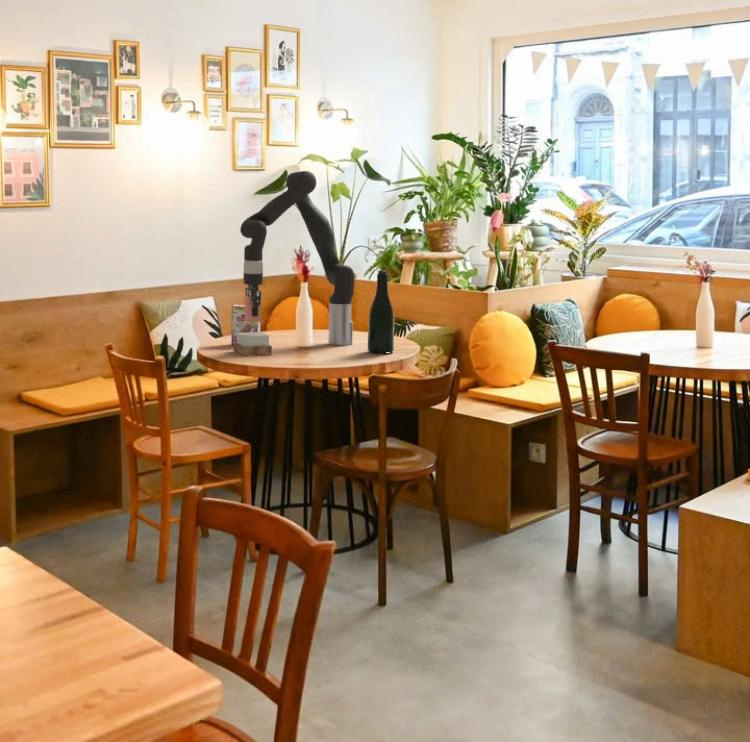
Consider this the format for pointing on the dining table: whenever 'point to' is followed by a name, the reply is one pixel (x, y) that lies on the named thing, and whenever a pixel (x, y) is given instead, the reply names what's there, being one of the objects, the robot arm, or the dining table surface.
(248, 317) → the brick-red block
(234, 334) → the candy bar box
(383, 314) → the beer bottle
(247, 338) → the painted slab
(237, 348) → the tan shallow square tray
